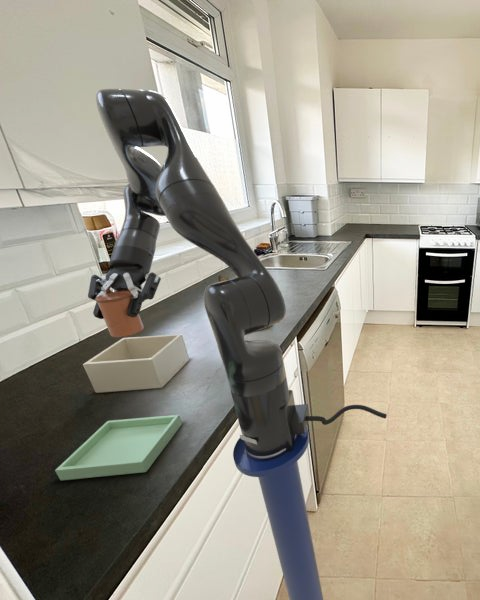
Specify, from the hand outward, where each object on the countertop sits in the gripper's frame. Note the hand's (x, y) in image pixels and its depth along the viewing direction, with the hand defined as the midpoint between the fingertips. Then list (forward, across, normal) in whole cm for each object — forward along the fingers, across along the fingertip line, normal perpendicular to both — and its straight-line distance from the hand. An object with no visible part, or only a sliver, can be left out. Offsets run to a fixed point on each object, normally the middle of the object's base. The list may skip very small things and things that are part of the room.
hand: (115, 316), depth 70 cm
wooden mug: (-8, +16, +33) cm, 38 cm away
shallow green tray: (+28, +11, -3) cm, 30 cm away
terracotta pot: (+2, 0, +4) cm, 5 cm away
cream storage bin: (+10, -1, +15) cm, 18 cm away
